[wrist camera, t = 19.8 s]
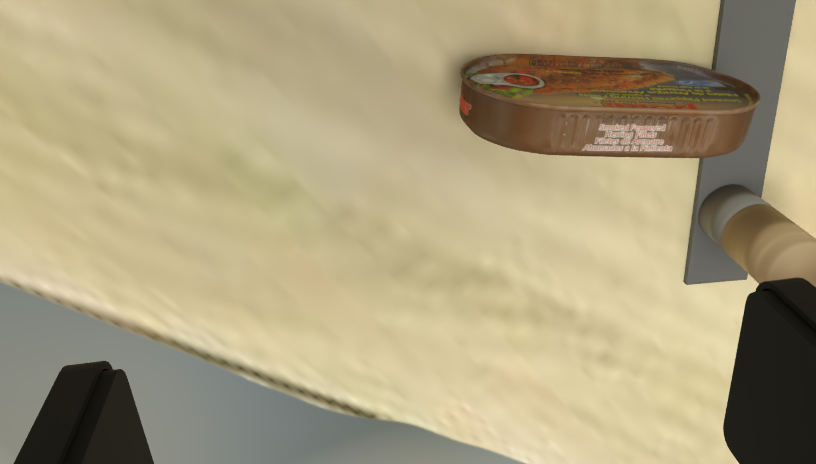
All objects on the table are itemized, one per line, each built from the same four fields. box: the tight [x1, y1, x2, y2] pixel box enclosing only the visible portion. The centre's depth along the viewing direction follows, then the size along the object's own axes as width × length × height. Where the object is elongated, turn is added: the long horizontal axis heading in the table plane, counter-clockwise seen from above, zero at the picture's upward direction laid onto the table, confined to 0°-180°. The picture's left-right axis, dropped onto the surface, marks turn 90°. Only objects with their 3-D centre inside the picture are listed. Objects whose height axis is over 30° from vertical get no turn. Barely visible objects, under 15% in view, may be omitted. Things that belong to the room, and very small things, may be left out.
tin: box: [459, 54, 760, 158], centre depth 37 cm, size 15×3×8 cm, turn 87°
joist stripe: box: [684, 0, 796, 285], centre depth 42 cm, size 22×4×1 cm, turn 3°
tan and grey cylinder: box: [698, 184, 816, 287], centre depth 41 cm, size 4×4×8 cm
